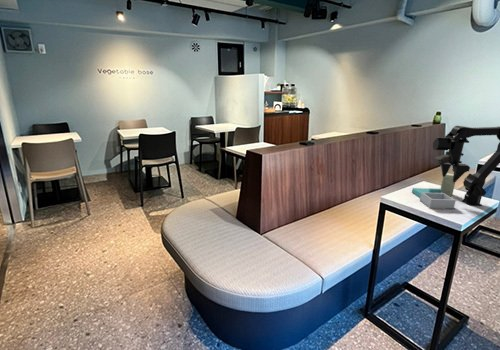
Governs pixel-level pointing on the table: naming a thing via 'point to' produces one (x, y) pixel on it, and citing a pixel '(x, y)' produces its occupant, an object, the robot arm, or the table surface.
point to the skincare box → (448, 184)
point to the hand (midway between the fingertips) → (448, 179)
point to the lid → (425, 191)
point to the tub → (437, 200)
